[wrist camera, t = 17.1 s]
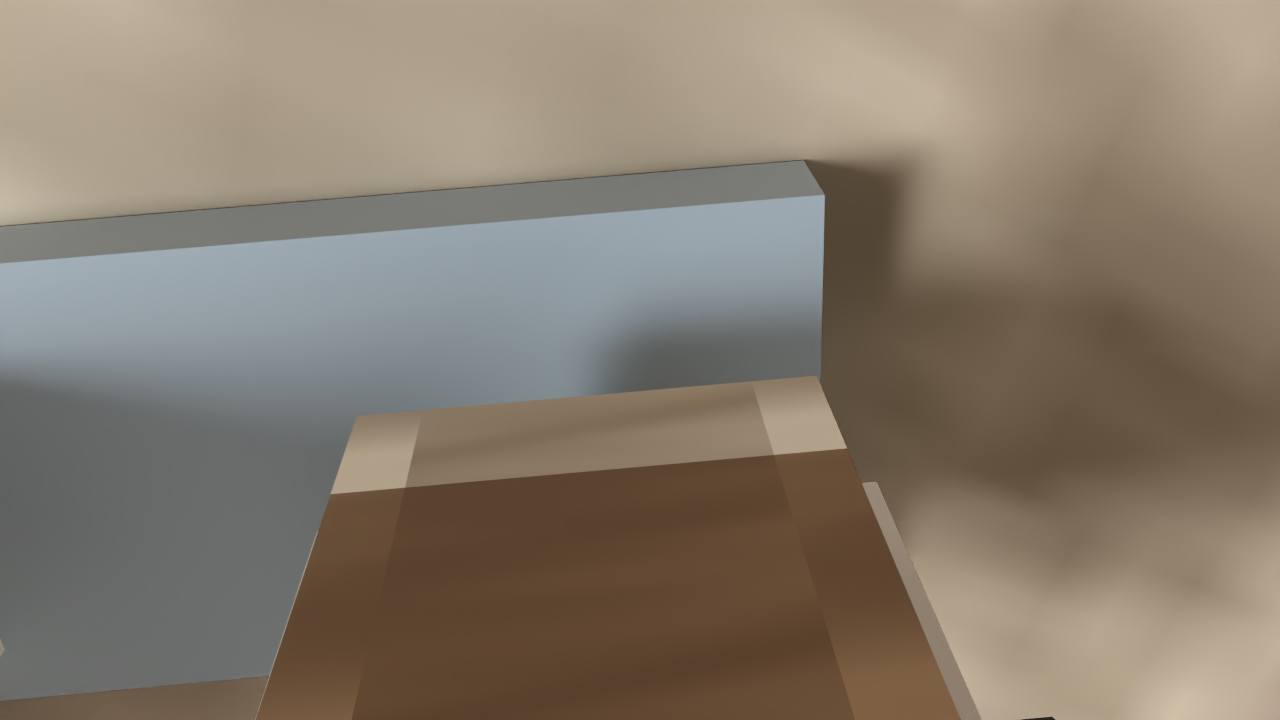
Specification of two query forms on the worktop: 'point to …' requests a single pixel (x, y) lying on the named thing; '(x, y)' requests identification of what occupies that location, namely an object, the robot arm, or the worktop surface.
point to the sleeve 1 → (1, 648)
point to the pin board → (332, 379)
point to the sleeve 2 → (605, 568)
